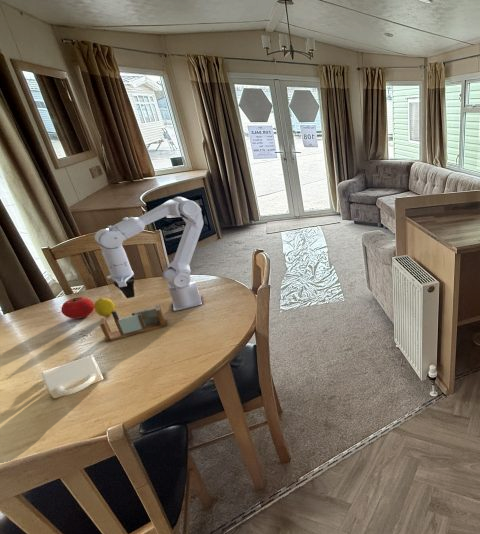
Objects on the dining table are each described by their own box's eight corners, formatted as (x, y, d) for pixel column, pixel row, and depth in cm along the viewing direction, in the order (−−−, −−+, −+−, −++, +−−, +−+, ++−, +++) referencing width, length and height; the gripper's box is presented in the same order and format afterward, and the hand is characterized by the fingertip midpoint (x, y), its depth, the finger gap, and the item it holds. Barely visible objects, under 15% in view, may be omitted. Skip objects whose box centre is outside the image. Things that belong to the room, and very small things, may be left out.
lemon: (122, 313, 132) (114, 295, 129) (108, 320, 127) (100, 302, 124) (109, 312, 133) (101, 294, 129) (95, 319, 128) (86, 301, 124)
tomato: (97, 307, 135) (89, 289, 132) (98, 316, 130) (90, 298, 126) (66, 315, 130) (57, 297, 126) (65, 325, 124) (56, 306, 121)
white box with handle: (53, 388, 96) (41, 366, 93) (101, 371, 103) (90, 350, 100) (57, 411, 89) (43, 389, 86) (107, 391, 96) (96, 369, 93)
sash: (145, 327, 123) (137, 305, 119) (145, 328, 122) (137, 306, 118) (120, 333, 119) (111, 311, 115) (120, 334, 118) (110, 312, 114)
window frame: (165, 320, 128) (159, 305, 125) (165, 326, 125) (159, 310, 122) (108, 335, 119) (101, 318, 116) (107, 341, 116) (99, 324, 113)
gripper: (104, 258, 121) (117, 292, 126) (100, 272, 111) (114, 308, 116) (130, 254, 125) (141, 287, 130) (128, 267, 115) (141, 302, 120)
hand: (130, 296), depth 123 cm, fingers closed
